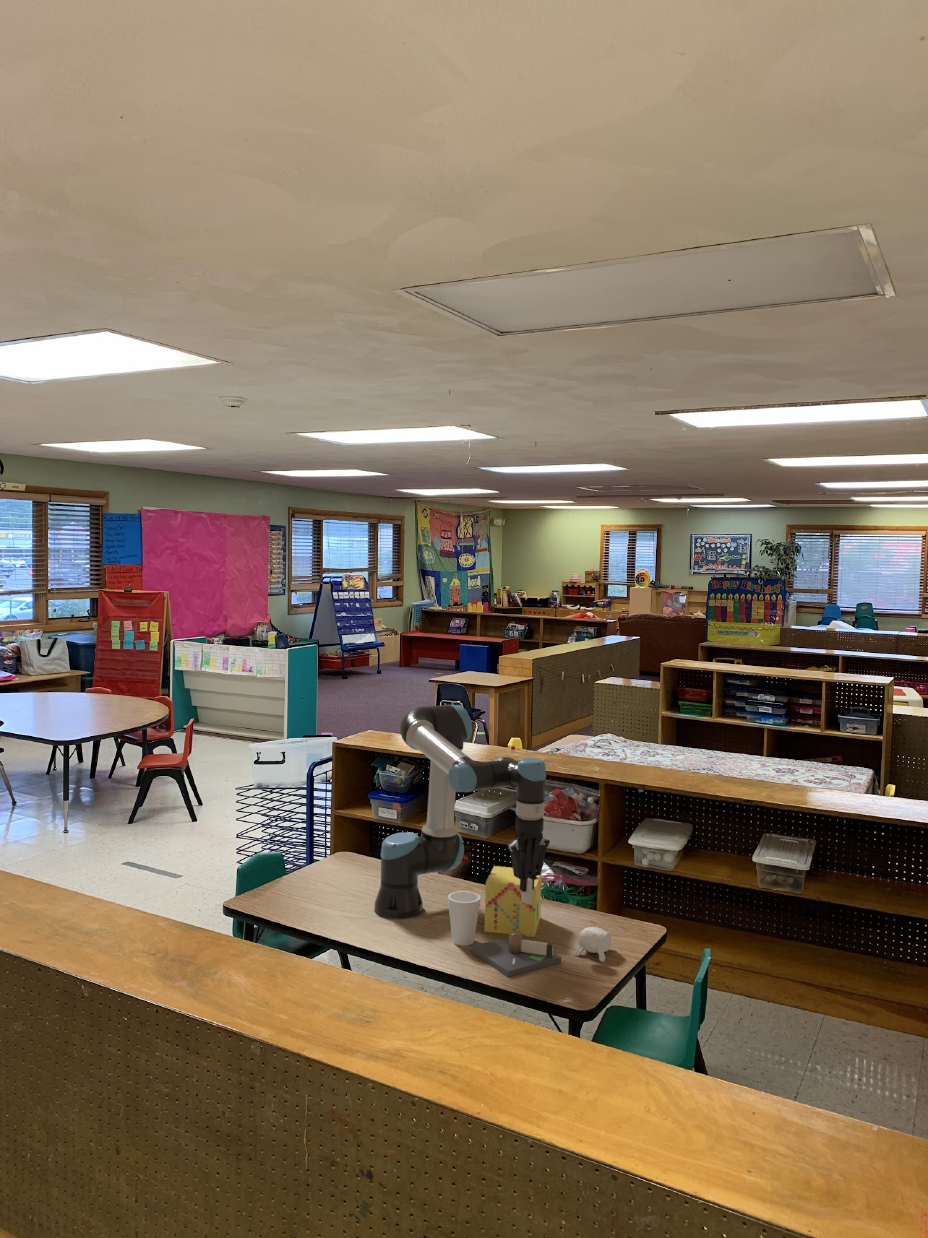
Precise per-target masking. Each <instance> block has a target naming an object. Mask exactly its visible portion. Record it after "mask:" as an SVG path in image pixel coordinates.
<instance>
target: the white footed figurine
mask: <svg viewBox="0 0 928 1238" xmlns="http://www.w3.org/2000/svg"><path fill="white" fill-rule="evenodd" d="M577 942H578V947H577V948H576V950H575V952H574V956H576V957H579V956H581V954H582V952H584V951H585V950H586V952H589V953H592V954H598V960H599V961H600V962H602V963H605V962H606V955H605V953H606V952H608V951H609V950H610V948H611V945H612V934H611V932H608V931H606V930H604V929H603V928H601V927H597V926H589V927H584V929H582V930H580V932H579V934H578V941H577Z"/></svg>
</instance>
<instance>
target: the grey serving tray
mask: <svg viewBox="0 0 928 1238" xmlns="http://www.w3.org/2000/svg"><path fill="white" fill-rule="evenodd" d="M522 939H524V940H531V941H535V940H533V939H532V938H530V936H525V935H524V934H522ZM470 952H471V953H472V954H473V955H475V956H477V957H478V958H479V959H481V960H482V961H484V962H486V963H487V964H488V965H490V966H491V967H493V968H494V969H495V970H497V971H499V973H501V974H503V975H504V976H506V977H507V978H508V977H513V976H516V975H519V974H523V973H527V972H530V971H534V970H538V969H541V968H542V969H543V968H545V967H548V966H554V965H556V964H559V963H561V962H562V956H561V955H560V954H558V953H555V952H554V951H553V956H552V957H550V956H546V955H540V954H533V953H527V952H520V953H512V952H510V951H509V936H507V937H503V938H502V937H501V938H499V939H495V940H491V941H490V940H489V941H487V942H482V943H479V944H478V943H477V944H475V945H470Z"/></svg>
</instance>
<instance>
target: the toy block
mask: <svg viewBox="0 0 928 1238" xmlns="http://www.w3.org/2000/svg"><path fill="white" fill-rule="evenodd" d="M542 874H543V870H542V871H541V875H537V876H536V877H537V879H536V880H534V889H533V890H532V903H531V904H526V903H524V902H522V901H521V894H522V891H521V890H520V879H519V878H517V877H515V876H514V872H513V867H511V866H509V867H507V866H497V865H493V868H492V869H491V871H490V874H489V875H488V877H487V878H486V881H485V897H484V898H485V899H484V902H485V903H484V904H485V905H484V932H485V933H496V934H505V935H509V933H510V932H511V931H520V932H522V934H524V935H525V936H527V937H532V938H535V937H536V932H537V930H538V926H539V925H540V920H541V914H542V913H541V907H542V905H541V904H542V899H541V898H542V880H543V879H542V877H543V876H542Z"/></svg>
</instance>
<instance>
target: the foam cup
mask: <svg viewBox="0 0 928 1238" xmlns="http://www.w3.org/2000/svg"><path fill="white" fill-rule="evenodd" d="M447 907H448V913H449V923H450V924H449V925H450V933H451V941H452V943H453V944H454V945H457V946H464V947H465V946H466V947H467V946H472V945H473V944H474V943H475V938H476V937H475V936H476V930H477V923H478V917H479V912H480V907H481V895H480V894H478V893H476V892H474V891H469V890H468V891H466V890H461V891H460V890H457V891H453V892H451V893H449V894H448V896H447Z"/></svg>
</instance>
